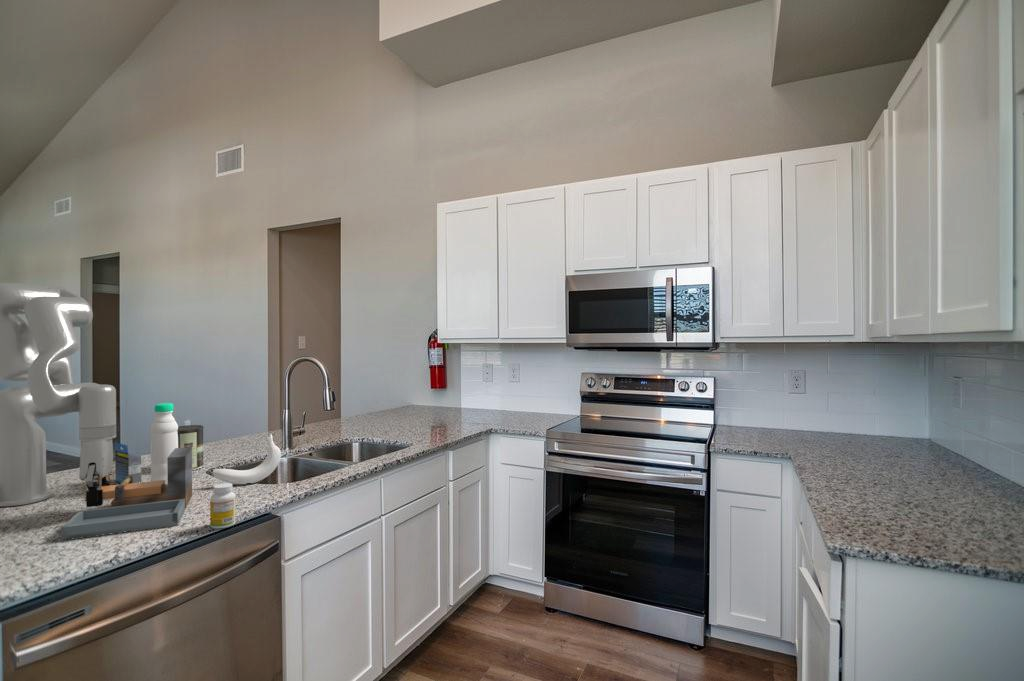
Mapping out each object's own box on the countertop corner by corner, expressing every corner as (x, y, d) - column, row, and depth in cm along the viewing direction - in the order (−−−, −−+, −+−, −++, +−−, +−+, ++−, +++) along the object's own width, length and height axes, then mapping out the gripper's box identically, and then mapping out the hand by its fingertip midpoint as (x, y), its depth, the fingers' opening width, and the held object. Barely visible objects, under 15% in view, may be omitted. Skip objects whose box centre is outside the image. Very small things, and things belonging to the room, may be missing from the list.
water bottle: (164, 489, 153) (163, 405, 152) (144, 488, 154) (144, 404, 154) (184, 482, 160) (183, 402, 159) (164, 481, 161) (164, 401, 161)
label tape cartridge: (142, 482, 160) (142, 443, 160) (127, 485, 156) (127, 445, 156) (128, 478, 164) (128, 439, 164) (114, 481, 161) (114, 442, 161)
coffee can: (191, 463, 183) (190, 424, 183) (210, 466, 179) (210, 426, 179) (161, 470, 174) (161, 428, 173) (181, 474, 169) (180, 431, 169)
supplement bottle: (217, 521, 127) (216, 482, 127) (239, 520, 128) (239, 481, 128) (205, 529, 122) (205, 488, 122) (229, 528, 123) (229, 488, 122)
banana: (211, 487, 155) (211, 438, 155) (278, 476, 167) (278, 431, 167) (214, 491, 152) (214, 441, 151) (282, 479, 163) (282, 433, 163)
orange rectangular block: (85, 501, 130) (85, 493, 130) (92, 494, 135) (92, 487, 135) (160, 493, 136) (160, 485, 136) (165, 487, 142) (165, 480, 142)
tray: (61, 540, 115) (61, 527, 115) (79, 522, 126) (79, 510, 126) (177, 525, 124) (177, 513, 124) (185, 509, 135) (185, 498, 135)
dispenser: (111, 517, 129) (110, 462, 129) (123, 503, 140) (123, 452, 140) (185, 508, 136) (185, 456, 136) (192, 495, 147) (191, 446, 147)
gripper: (90, 428, 139) (91, 494, 139) (67, 440, 123) (68, 515, 124) (124, 426, 142) (125, 490, 143) (106, 437, 127) (106, 510, 127)
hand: (98, 501), depth 133 cm, fingers closed on orange rectangular block, 5 cm apart
